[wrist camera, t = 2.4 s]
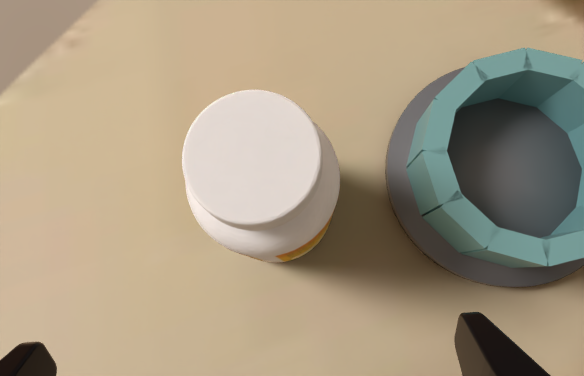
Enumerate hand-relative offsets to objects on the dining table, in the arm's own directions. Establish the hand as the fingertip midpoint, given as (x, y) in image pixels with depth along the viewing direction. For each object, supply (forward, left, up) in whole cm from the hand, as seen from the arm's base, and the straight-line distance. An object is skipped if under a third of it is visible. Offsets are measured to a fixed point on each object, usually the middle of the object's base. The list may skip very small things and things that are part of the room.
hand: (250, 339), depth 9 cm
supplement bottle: (+5, -1, -12) cm, 13 cm away
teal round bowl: (+4, -12, -11) cm, 17 cm away
